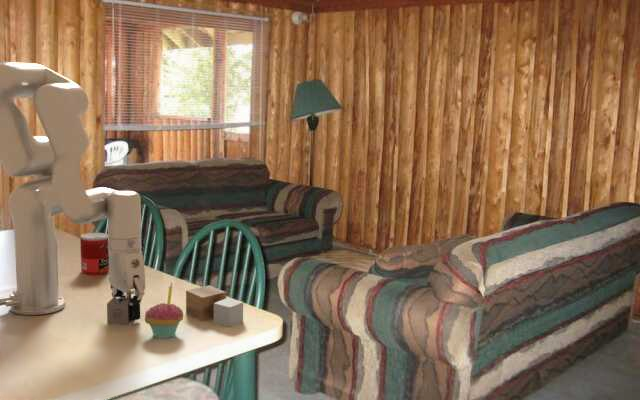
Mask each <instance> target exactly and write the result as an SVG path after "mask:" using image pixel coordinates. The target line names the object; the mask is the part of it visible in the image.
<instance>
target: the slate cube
mask: <svg viewBox="0 0 640 400" xmlns="http://www.w3.org/2000/svg"><path fill="white" fill-rule="evenodd" d="M243 322H244V302H243V301H241V300H236V299H233V298H229V297H226V299H223V300H221V301H218V302H215V303H214V318H213V324H217V325H218V326H219V325H220V326H222V327H226V328H232V327H234V326H237V325H238V324H240V323H243Z"/></svg>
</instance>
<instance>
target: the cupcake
mask: <svg viewBox="0 0 640 400" xmlns="http://www.w3.org/2000/svg"><path fill="white" fill-rule="evenodd" d="M172 293H173V282H171V283H170V285H169V287H168V294H167V295H168V297H167V303H164V302H162V303H158V304H156V305H154V306H151V307H150V308H149V309H148V310H146V311H145V316H144V321H145V323H146V324H148V325H149V326H150V328H151V330H152V331H151V332H152V334H153V336H154V338H157V339H169V338H173V337H174V336H176V331H177V328H178V326H179V324H180V322H182V321H183V320H184V312H183V310H182V308H180V306H177V305H176V304H172V303H171V298H172Z"/></svg>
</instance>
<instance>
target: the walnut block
mask: <svg viewBox="0 0 640 400" xmlns="http://www.w3.org/2000/svg"><path fill="white" fill-rule="evenodd" d="M226 298H227V291H224V290H221V289H219V288H217V287H214V286H212V285H206V286H200V287H197V288H192V289H186V290H185V301H186V302H185V313H186V314H187V315H188V316H191V317H193V318H195V319H197V320H199V321H202V322H203V321H208V320H211V319H214V303H215V302H218V301H221V300H223V299H226Z"/></svg>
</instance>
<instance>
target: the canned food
mask: <svg viewBox="0 0 640 400" xmlns="http://www.w3.org/2000/svg"><path fill="white" fill-rule="evenodd" d="M79 239H80V242H79V243H80V269H81V273H82V274H84V275H87V276H101V275H106V274H107V273H109V253H110V251H109V247H108V233H104V232H89V233H84V234H81V235H80V238H79Z"/></svg>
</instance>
